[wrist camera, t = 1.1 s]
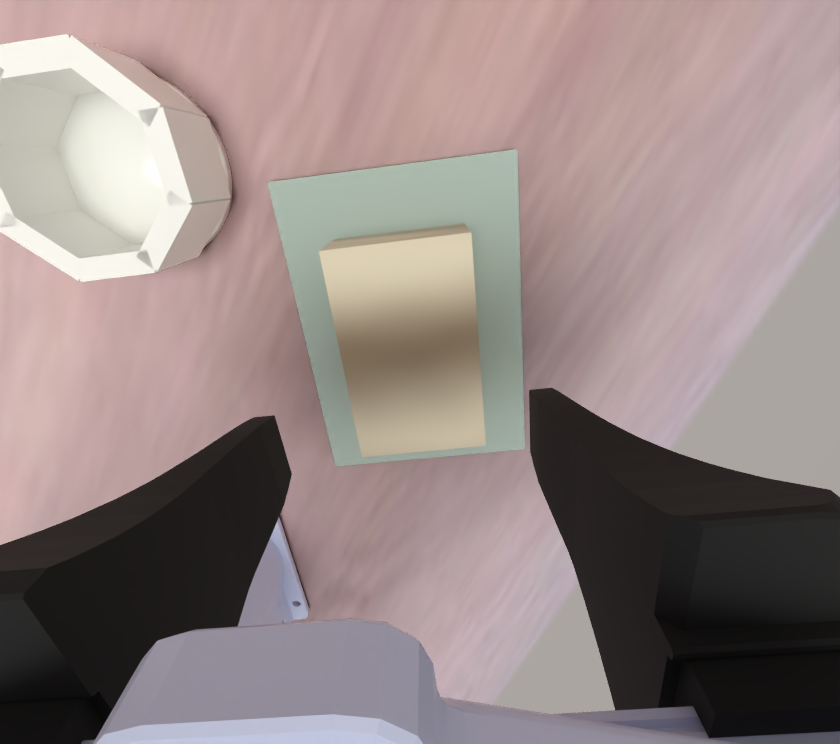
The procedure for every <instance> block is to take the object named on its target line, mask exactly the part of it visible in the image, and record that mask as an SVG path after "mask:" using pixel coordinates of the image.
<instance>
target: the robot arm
mask: <svg viewBox="0 0 840 744" xmlns="http://www.w3.org/2000/svg"><path fill="white" fill-rule="evenodd" d="M529 399H530V452H531V456H532V460H533V464H534V467H535V471H536V474H537V478H538V481H539V484H540V487H541V489H542V491H543V494H544V496H545V498H546V501H547V503H548V505H549V508H550V510H551V512H552V515H553V517H554V519H555V522H556V524H557V526H558V529H559V531H560V533H561V536H562V538H563V540H564V542H565V545H566V547H567V549H568V552H569V555H570V557H571V560H572V563H573V565H574V568H575V571H576V575H577V578H578V581H579V584H580V588H581V591H582V594H583V597H584V600H585V604H586V607H587V610H588V614H589V617H590V621H591V624H592V628H593V630H594V634H595V638H596V641H597V645H598V648H599V652H600V655H601V659H602V663H603V666H604V670H605V673H606V677H607V680H608V684H609V687H610V691H611V695H612V699H613V703H614V707H615V711H598V712H582V713H562V714H547V713H540V712H534V711H527V710H521V709H515V708H508V707H502V706H495V705H489V704H483V703H476V702H470V701H463V700H457V699H451V698H444V697H440V695H439V692H438V690H437V685H436V679H435V673H434V667H433V663H432V661H431V660H430V658H429V656H428V655H427V653H426V651H425V650H424V648H423V647H422V645H421V643H420V642H419V640H417V639H416V638H415V637H413V636H411V635H409V634H407V633H406V632H404V631H402V630H400V629H398V628H396V627H394V626H392V625H390V624H389V623H387V622H380V621H370V620H361V619H338V620H324V621H309V622H295V623H292V621H293V620H300V619H305V618H306V617H307V616H308V614H309V607H308V604H307V601H306V598H305V595H304V592H303V589H302V586H301V583H300V580H299V577H298V573H297V570H296V567H295V564H294V561H293V558H292V555H291V552H290V549H289V546H288V543H287V539H286V536H285V533H284V530H283V527H282V524H281V521H280V518H279V516H280V513H281V511H282V508H283V506H284V502H285V499H286V495H287V492H288V487H289V483H290V479H291V475H292V474H291V470H290V467H289V463H288V460H287V457H286V453H285V450H284V446H283V443H282V440H281V436H280V433H279V429H278V426H277V423H276V419H275V416H265V417H255V418H252V419H250V420H248V421H246V422H244V423H242V424H241V425H239V426H238V427H236V428H234V429H233V430H231V431H230V432H228V433H227V434H225V435H224V436H222V437H221V438H219V439H218V440H216V441H215V442H213V443H212V444H210V445H208V446H207V447H205V448H204V449H202V450H201V451H199V452H198V453H196V454H195V455H193V456H192V457H190V458H188V459H187V460H185V461H183V462H182V463H180V464H179V465H177V466H175V467H174V468H172V469H170V470H169V471H167V472H166V473H164V474H162V475H161V476H159V477H157V478H155V479H154V480H152V481H150V482H148V483H146V484H144V485H143V486H141V487H139V488H137V489H135V490H133V491H131V492H129V493H127V494H125V495H123V496H121V497H119V498H117V499H115V500H113V501H111V502H108V503H106V504H104V505H102V506H99V507H97V508H95V509H93V510H90V511H88V512H86V513H84V514H82V515H79V516H77V517H75V518H72V519H70V520H68V521H65V522H62V523H60V524H57V525H55V526H52V527H50V528H47V529H45V530H42V531H39V532H36V533H34V534H31V535H28V536H25V537H23V538H20V539H17V540H14V541H11V542H8V543H5V544H2V545H0V744H840V497H839V496H837V495H836V494H835V493H833V492H832V491H831V490H827V489H822V488H816V487H811V486H806V485H800V484H795V483H789V482H783V481H778V480H772V479H767V478H763V477H759V476H755V475H751V474H747V473H742V472H738V471H734V470H730V469H726V468H723V467H720V466H716V465H712V464H709V463H706V462H703V461H699V460H697V459H693V458H690V457H687V456H684V455H681V454H678V453H676V452H673V451H670V450H668V449H665V448H663V447H660V446H658V445H655V444H653V443H651V442H648V441H646V440H643V439H641V438H639V437H637V436H635V435H633V434H630V433H628V432H627V431H625V430H623V429H621V428H619V427H617V426H615V425H613V424H611V423H609V422H608V421H606V420H604V419H602V418H600V417H599V416H597V415H595V414H594V413H592V412H590V411H589V410H587V409H585V408H584V407H582V406H581V405H579V404H577V403H576V402H574V401H573V400H571V399H570V398H568V397H566V396H565V395H563V394H562V393H560V392H558V391H557V390H555V389H553V388H546V389H536V390H529Z"/></svg>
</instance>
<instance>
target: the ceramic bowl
mask: <svg viewBox="0 0 840 744" xmlns="http://www.w3.org/2000/svg"><path fill="white" fill-rule="evenodd" d="M231 199H232V175H231V169H230V164H229V160H228V156H227V153H226V150H225V147H224V145H223V143H222V141H221V139H220V136H219V134H218V133H217V131H216V129H215V128H214V126H213V124H212V123H211V121H210V120H209V118H208V117H207V115H206V114H205V113H204V112H203V111H202V110H201V109H200V107H199V106H198V105H197V104H196V103H195V102H194V101H193V100H192V99H191V98H189V97H188V96H187V95H186V94H185V93H184V92H182V91H181V90H180V89H178V88H177V87H175V86H174V85H172V84H171V83H169V82H167V81H165V80H163V79H161V78H159V77H157V76H156V75H155V74H153V73H152V72H151V71H149V70H148V69H147V68H146V67H144V66H143V65H142V64H141V63H139V62H138V61H137V60H134V59H132V58H129V57H127V56H124V55H121V54H119V53H116V52H114V51H111V50H108V49H106V48H103V47H101V46H98V45H96V44H93V43H90V42H88V41H85V40H83V39H80V38H77V37H75V36H72V35H69V34H65V35H59V36H53V37H46V38H40V39H33V40H27V41H21V42H14V43H8V44H2V45H0V232H1V233H3V234H5V235H6V236H8V237H9V238H11V239H13V240H14V241H16V242H17V243H19V244H20V245H22V246H24V247H25V248H27V249H28V250H30V251H32V252H33V253H35V254H36V255H38V256H39V257H41V258H43V259H44V260H46V261H47V262H49V263H51V264H52V265H54V266H55V267H57V268H58V269H60V270H62V271H63V272H65V273H66V274H68V275H70V276H71V277H73V278H74V279H76V280H77V281H80V280H81V282H84V281H92V280H100V279H108V278H117V277H125V276H133V275H141V274H149V273H156V272H159V271H161V270H164V269H167V268H170V267H172V266H175V265H178V264H180V263H183V262H186V261H188V260H191V259H194V258H196V257H198V256H199V255H200V254H201V252H202V250H203V248H204V247H205V246H206V245H207V244H208V243H210V242H211V241H212V240H213V239H214V238H215V237H216V235H217V234H218V233H219V231H220V230H221V228H222V227H223V225H224V223H225V221H226V219H227V216H228V213H229V209H230V205H231Z"/></svg>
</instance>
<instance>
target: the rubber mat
mask: <svg viewBox="0 0 840 744" xmlns="http://www.w3.org/2000/svg"><path fill="white" fill-rule="evenodd" d="M267 184H268V188H269V192H270V196H271V201H272V205H273V209H274V213H275V217H276V221H277V225H278V230H279V234H280V238H281V242H282V246H283V250H284V254H285V259H286V263H287V267H288V271H289V275H290V279H291V284H292V288H293V292H294V296H295V300H296V304H297V308H298V313H299V317H300V321H301V325H302V329H303V333H304V337H305V342H306V346H307V350H308V354H309V358H310V362H311V366H312V371H313V375H314V379H315V383H316V387H317V391H318V396H319V400H320V404H321V408H322V412H323V416H324V420H325V425H326V429H327V433H328V437H329V441H330V445H331V449H332V454H333V458H334V462H335V466H336V467H337V466H348V465H359V464H369V463H380V462H391V461H402V460H413V459H424V458H434V457H445V456H456V455H467V454H478V453H489V452H499V451H510V450H521V449H525V436H524V395H523V355H522V315H521V274H520V234H519V194H518V153H517V149H514V150H507V151H499V152H492V153H484V154H477V155H469V156H461V157H454V158H446V159H439V160H431V161H424V162H416V163H408V164H401V165H393V166H386V167H378V168H371V169H363V170H355V171H348V172H340V173H333V174H325V175H318V176H310V177H303V178H295V179H287V180H280V181H272V182H267ZM463 223H465V225H466V226H467V227H468V229H469V230H470V231H471V234H472V249H473V263H474V278H475V293H476V307H477V322H478V337H479V351H480V366H481V381H482V396H483V410H484V425H485V440H486V446H477V447H466V448H455V449H445V450H434V451H423V452H413V453H402V454H391V455H380V456H370V457H362V456H361V451H360V446H359V441H358V437H357V432H356V427H355V422H354V418H353V413H352V408H351V403H350V398H349V394H348V389H347V384H346V379H345V375H344V370H343V365H342V360H341V355H340V351H339V346H338V341H337V336H336V331H335V327H334V322H333V317H332V312H331V308H330V303H329V298H328V293H327V288H326V284H325V279H324V274H323V269H322V264H321V260H320V255H319V250H321V249H322V248H323V247H325V246H326V245H327V244H329V243H330V242H331V241H333V240H334V239H341V238H350V237H358V236H366V235H374V234H382V233H390V232H398V231H406V230H414V229H423V228H431V227H439V226H447V225H455V224H463Z"/></svg>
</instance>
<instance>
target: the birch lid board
mask: <svg viewBox="0 0 840 744" xmlns="http://www.w3.org/2000/svg"><path fill="white" fill-rule="evenodd" d="M319 255H320V260H321V264H322V269H323V274H324V279H325V284H326V288H327V293H328V298H329V303H330V308H331V312H332V317H333V322H334V327H335V331H336V336H337V341H338V346H339V351H340V355H341V360H342V365H343V370H344V375H345V379H346V384H347V389H348V394H349V398H350V403H351V408H352V413H353V418H354V422H355V427H356V432H357V437H358V441H359V446H360V451H361V456H362V457H370V456H380V455H391V454H402V453H413V452H423V451H434V450H445V449H455V448H466V447H477V446H486V440H485V425H484V410H483V396H482V381H481V366H480V351H479V337H478V322H477V307H476V293H475V278H474V263H473V249H472V234H471V231H470V230H469V229H468V227H467V226H466V225H465V223H463V224H455V225H447V226H439V227H431V228H423V229H414V230H406V231H398V232H390V233H382V234H374V235H366V236H358V237H350V238H341V239H334V240H333V241H331V242H330V243H329V244H327V245H326V246H325V247H323V248H322V249H321V250H319Z"/></svg>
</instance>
